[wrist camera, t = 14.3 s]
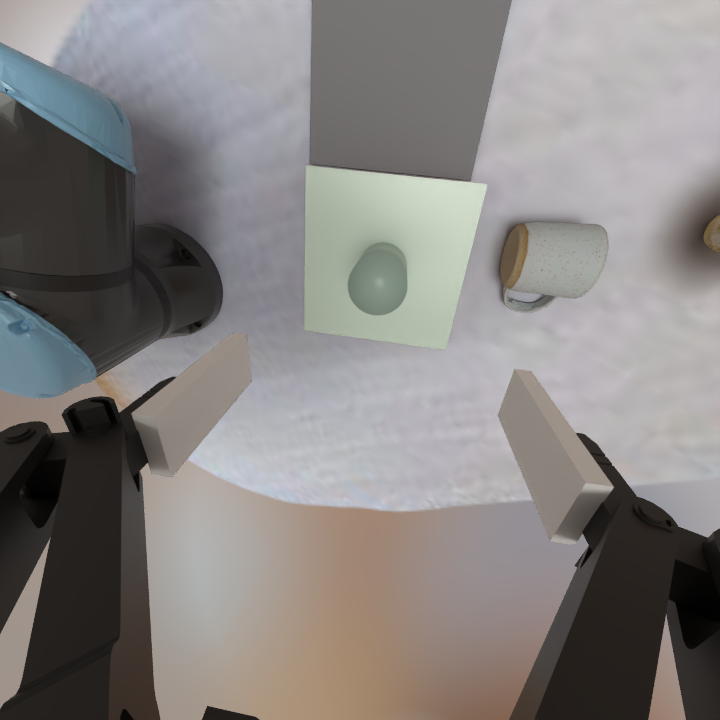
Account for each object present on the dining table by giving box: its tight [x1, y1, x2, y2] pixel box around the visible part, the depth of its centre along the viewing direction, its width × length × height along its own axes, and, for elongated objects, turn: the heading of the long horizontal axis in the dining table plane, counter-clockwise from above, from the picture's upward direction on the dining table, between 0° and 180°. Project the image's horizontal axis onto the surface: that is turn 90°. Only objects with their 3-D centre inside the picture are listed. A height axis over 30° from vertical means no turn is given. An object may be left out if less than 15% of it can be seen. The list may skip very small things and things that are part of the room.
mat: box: [310, 0, 512, 181], centre depth 31 cm, size 18×18×1 cm
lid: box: [304, 166, 488, 350], centre depth 30 cm, size 17×17×9 cm
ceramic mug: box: [500, 222, 608, 313], centre depth 35 cm, size 11×8×8 cm
